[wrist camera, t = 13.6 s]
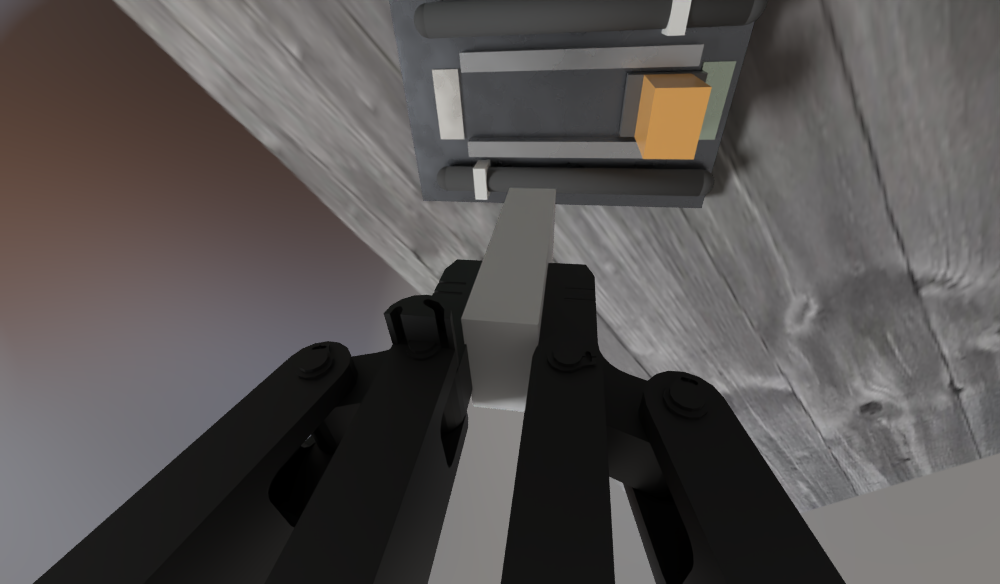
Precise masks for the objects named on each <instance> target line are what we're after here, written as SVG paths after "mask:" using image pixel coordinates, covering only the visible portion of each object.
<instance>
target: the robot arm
mask: <svg viewBox="0 0 1000 584" xmlns="http://www.w3.org/2000/svg"><path fill="white" fill-rule="evenodd" d="M555 197H556V189H540V188H509V191H508V194H507V196H506V199H505V202H504V205H503V207H502V210H501V213H500V215H499V218H498V221H497V223H496V226H495V229H494V232H493V234H492V237H491V240H490V242H489V245H488V248H487V250H486V253H485V256H484V258H483V261H477V260H458V259H457V260H456V261H455V262H454V263H452V264H451V265H450V266H449V267H447V268H446V269H445V271H444V273H443V275H442V277H441V279H440V281H439V283H438V285H437V287H436V289H435V292H434V293H433V295H432V296H431V295H416V296H411V297H408V298H405V299H402V300H400V301H398V302H396V303H395V304H393V305H391V306H390V307H389V309H387V311H386V312H385V313H384V316H385V319H386V323H387V326H388V330H389V333H390V336H391V340H392V343H393V345H392V347H391V349H389V350H386V351H382V352H378V353H372V354H365V355H360V356H353V357H351V354H350V352H349V350H348V348H347V347H346V346H344V345H342V344H341V343H337V342H329V341H327V342H321V343H315V344H313V345H310V346H308V347H305V348H303V349H301V350H300V351H299V352H297V353H296V354H294V355H292V356H291V357H290V358H289V359H288V360H286V361H285V362H284V363H283V364H282V365H281V366H280V367H279V368H277V369H276V370H275V371H274V372H273V373H272V374H271V375H269V376H268V377H267V378H266V379H265V380H264V381H263V382H262V383H260V384H259V385H258V386H257V387H256V388H255V389H253V390H252V391H251V392H250V393H249V394H248V395H247V396H246V397H244V398H243V399H242V400H241V401H240V402H239V403H238V404H236V405H235V406H234V407H233V408H232V409H231V410H230V411H228V412H227V413H226V414H225V415H224V416H223V417H222V418H221V419H219V420H218V421H217V422H216V423H215V424H214V425H213V426H211V428H209V429H208V430H207V431H206V432H205V433H203V435H201V436H200V437H199V438H198V439H197V440H196V441H194V442H193V443H192V444H191V445H190V446H189V447H188V448H187V449H186V450H184V451H183V452H182V453H181V454H180V455H179V456H177V457H176V458H175V459H174V460H173V461H172V462H171V463H170V464H168V465H167V466H166V467H165V468H164V469H163V470H162V471H160V472H159V473H158V474H157V475H156V476H155V477H154V478H152V479H151V480H150V481H149V482H148V483H147V484H146V485H145V486H143V487H142V488H141V489H140V490H139V491H138V492H136V493H135V494H134V495H133V496H132V497H131V498H130V499H128V500H127V501H126V502H125V503H124V504H123V505H122V506H121V507H119V508H118V509H117V510H116V511H115V512H114V513H113V514H111V515H110V516H109V517H108V518H107V519H106V520H105V521H103V522H102V523H101V524H100V525H99V526H98V527H97V528H96V529H94V531H92V532H91V533H90V534H89V535H88V536H87V537H85V538H84V539H83V540H82V541H81V542H80V543H78V544H77V545H76V546H75V547H74V548H73V549H72V550H71V551H70V552H68V553H67V554H66V555H65V556H64V557H63V558H62V559H60V560H59V561H58V562H57V563H56V564H55V565H54V566H52V567H51V568H50V569H49V570H48V571H47V572H46V573H45V574H43V575H42V576H41V577H40V578H39V579H38V580H36V581H35V582H34V583H33V584H428V580H429V576H430V572H431V568H432V564H433V561H434V557H435V553H436V549H437V545H438V541H439V538H440V533H441V530H442V525H443V522H444V518H445V514H446V510H447V506H448V502H449V499H450V495H451V491H452V487H453V483H454V479H455V476H456V472H457V468H458V464H459V460H460V456H461V452H462V448H463V445H464V440H465V437H466V433H467V429H468V414H467V408H468V404H469V400H470V397H471V394H472V401H473V406H476V407H485V408H494V409H503V410H511V411H521V412H525V413H524V420H523V427H522V435H521V442H520V449H519V456H518V463H517V471H516V478H515V485H514V493H513V499H512V507H511V514H510V522H509V528H508V536H507V543H506V550H505V557H504V564H503V572H502V579H501V584H615V575H614V559H613V558H614V557H613V539H612V523H611V522H612V521H611V504H610V488H609V487H610V486H609V477H612V478H614V479H616V480H618V481H620V482H622V483H623V485H624V488H625V491H626V494H627V497H628V500H629V503H630V506H631V509H632V512H633V515H634V518H635V521H636V524H637V527H638V530H639V533H640V536H641V539H642V542H643V546H644V549H645V552H646V555H647V558H648V561H649V564H650V567H651V570H652V573H653V576H654V579H655V582H656V584H846V583H845V582H844V580H843V579H842V577H841V576H840V574H839V573H838V571H837V569H836V568H835V567H834V565H833V563H832V562H831V560H830V559H829V557H828V556H827V554H826V553H825V551H824V550H823V548H822V547H821V545H820V544H819V542H818V540H817V539H816V537H815V536H814V534H813V533H812V531H811V530H810V528H809V527H808V525H807V524H806V522H805V521H804V519H803V518H802V516H801V515H800V513H799V511H798V510H797V508H796V507H795V505H794V504H793V502H792V501H791V499H790V498H789V496H788V495H787V493H786V492H785V490H784V489H783V487H782V486H781V484H780V483H779V481H778V479H777V478H776V476H775V475H774V473H773V472H772V470H771V469H770V467H769V466H768V464H767V463H766V461H765V460H764V458H763V457H762V455H761V454H760V452H759V450H758V449H757V447H756V446H755V444H754V443H753V441H752V440H751V438H750V437H749V435H748V434H747V432H746V431H745V429H744V428H743V426H742V425H741V423H740V422H739V420H738V418H737V417H736V415H735V414H734V412H733V411H732V409H731V408H730V406H729V405H728V403H727V402H726V400H725V399H724V397H723V396H722V395H721V394H720V393H719V392H718V391H717V390H716V388H715V387H714V386H713V385H711V384H709V383H708V382H706V381H705V380H703V379H702V378H700V377H698V376H695V375H692V374H689V373H686V372H679V371H666V372H662V373H659V374H656V375H654V376H653V377H652V378H651V379H649V380H648V381H646V380H644V379H641V378H638V377H635V376H632V375H629V374H627V373H625V372H622V371H620V370H618V369H617V368H615V367H614V366H612V365H611V364H610V363H609V362H608V361H607V360H606V359H605V358H604V357H603V355H602V354H601V352H600V350H599V346H598V338H597V318H596V303H595V301H596V297H595V277H594V275H593V274H592V272H591V271H590V270H589V268H588V267H587V266H586V265H581V264H561V263H553V243H554V220H555ZM310 435H311V436H310ZM309 436H310V437H309ZM308 437H309V438H308ZM307 438H308V439H307ZM306 439H307V440H306Z"/></svg>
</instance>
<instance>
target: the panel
mask: <svg viewBox="0 0 1000 584" xmlns="http://www.w3.org/2000/svg"><path fill="white" fill-rule="evenodd" d="M450 1H467V0H389V3H390V9H391V15H392V20H393V26H394V32H395V38H396V44H397V49H398V55H399V61H400V67H401V73H402V79H403V84H404V90H405V96H406V102H407V108H408V113H409V119H410V125H411V131H412V137H413V143H414V148H415V154H416V160H417V166H418V172H419V178H420V183H421V189H422V195H423V201H459V202H495V203H504V202H505V199H506V196H507V194H508V192H491V193H490V195H489V197H488V199H487V200H476V199H475V191H447V190H444V189H442V188H441V187H440V186H439V185H438V182H437V174H438V172H439V170H440V169H441V168H443V167H446V166H468V167H474V166H475V164H476V163H477V161H478V160H490V164H491V167H549V168H629V169H702V170H707V171H709V172H710V173H712V169H713V166H714V162H715V159H716V155H717V152H718V148H719V145H720V141H721V138H722V134H723V131H724V127H725V124H726V120H727V117H728V113H729V110H730V106H731V103H732V99H733V96H734V92H735V89H736V85H737V82H738V78H739V75H740V71H741V68H742V64H743V61H744V57H745V54H746V50H747V47H748V43H749V40H750V36H751V33H752V29H753V26H754V22H755V21H754V22H752V23H750V24H748V25H743V26H720V27H696V28H686V31H685V35H677V36H666V35H664V34H662V29H649V30H625V31H601V32H577V33H553V34H529V35H505V36H481V37H457V38H433V39H430V38H425V37H423V36H422V35H420V34H419V32H418V31H417V30H416V27H415V25H414V13H415V11H416V9H417V8H418V6H420V5H421V4H423V3H432V2H450ZM680 71H705V72H707V73H708V75H707V79H706V84H708V85H709V86H711V87H712V89H711V93H710V97H709V101H708V105H707V109H706V113H705V116H704V120H703V124H702V128H701V132H700V136H699V140H698V144H697V148H696V152H695V156H694V159H643V158H642V155H641V153H640V150H639V147H638V145H637V142H636V140H635V137H620V134H619V131H620V123H621V116H622V108H623V101H624V93H625V86H626V78H627V73H640V72H680ZM704 197H705V195H703V196H658V195H614V194H570V193H556V197H555V204H569V205H606V206H642V207H679V208H702V204H703V201H704Z"/></svg>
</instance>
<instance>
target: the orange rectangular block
mask: <svg viewBox="0 0 1000 584" xmlns="http://www.w3.org/2000/svg"><path fill="white" fill-rule="evenodd" d="M707 75H708V73H707V72H705V71H680V72H640V73H627V78H626V86H625V93H624V101H623V108H622V116H621V123H620V131H619V134H620V137H635V140H636V142H637V145H638V147H639V150H640V153H641V155H642V158H643V159H694V156H695V152H696V148H697V144H698V140H699V136H700V132H701V128H702V124H703V120H704V116H705V113H706V109H707V105H708V101H709V97H710V93H711V89H712V87H711V86H709V85H708V84H706V79H707Z"/></svg>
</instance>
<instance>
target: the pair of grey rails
mask: <svg viewBox="0 0 1000 584" xmlns="http://www.w3.org/2000/svg"><path fill="white" fill-rule="evenodd" d="M767 1H768V0H467V1H450V2H432V3H423V4H421V5H420V6H418V8H417V9H416V11H415V13H414V25H415V27H416V30H417V31H418V32H419V34H420V35H422V36H423V37H425V38H430V39H433V38H457V37H481V36H505V35H529V34H553V33H577V32H601V31H625V30H649V29H662V34H664V35H666V36H677V35H685V31H686V28H696V27H720V26H743V25H748V24H750V23H752V22H754V21H755V20H757V19H758V18H759V17H760V16H761V15H762V13H763V12H764V10H765V8H766V5H767ZM437 182H438V185H439V186H440V187H441V188H442V189H444V190H447V191H475V199H476V200H487V199H488V197H489V195H490V193H491V192H508V191H509V188H540V189H556V193H570V194H614V195H658V196H703V195H705V194H707V193H708V192H710V191H711V189H712V188H713V185H714V177H713V175H712V174H711V173H710V172H709V171H707V170H702V169H629V168H549V167H491V164H490V160H478V161H477V163H476V164H475V166H474V167H468V166H446V167H443V168H441V169H440V170H439V172H438V174H437Z"/></svg>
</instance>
